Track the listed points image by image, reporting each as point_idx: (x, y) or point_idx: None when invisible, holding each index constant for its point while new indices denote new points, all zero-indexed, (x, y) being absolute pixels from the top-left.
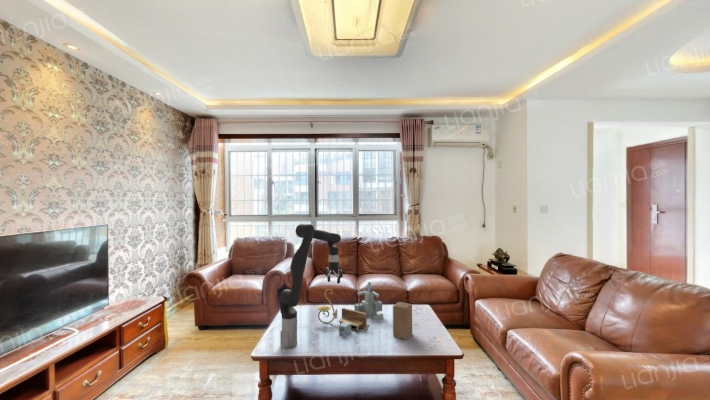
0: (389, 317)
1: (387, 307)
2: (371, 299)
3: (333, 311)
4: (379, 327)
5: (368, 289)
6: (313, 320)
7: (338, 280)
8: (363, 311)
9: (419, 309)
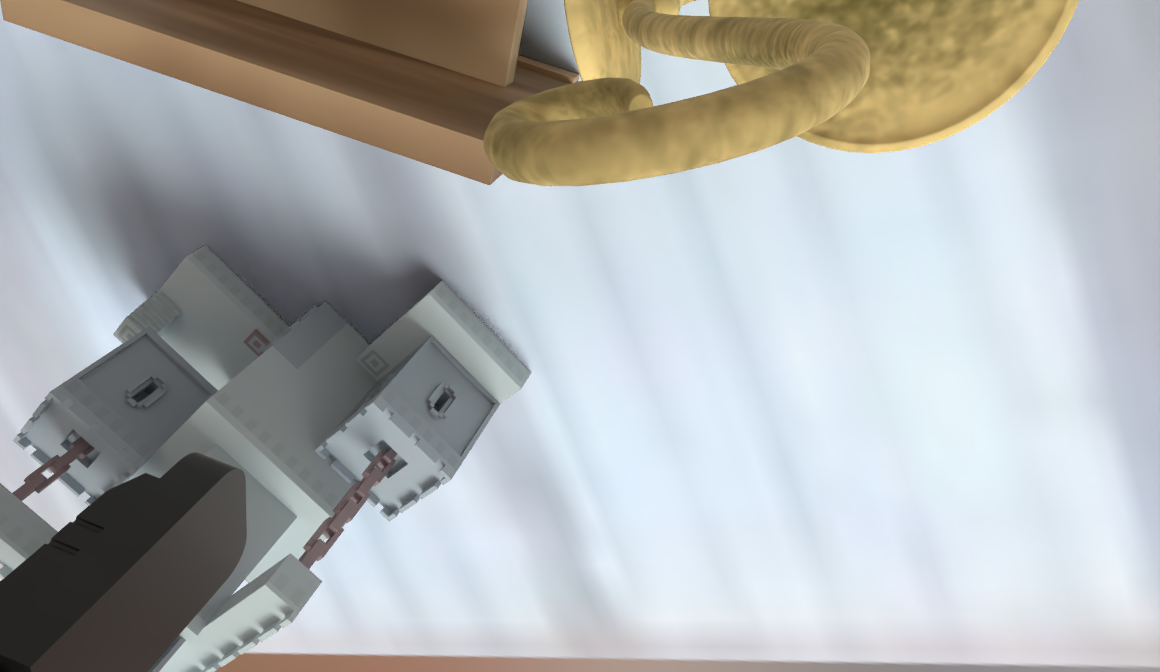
0: None
1: None
2: None
3: (640, 2)
4: (64, 47)
5: None
6: (1144, 17)
7: (59, 569)
8: (365, 394)
9: None
